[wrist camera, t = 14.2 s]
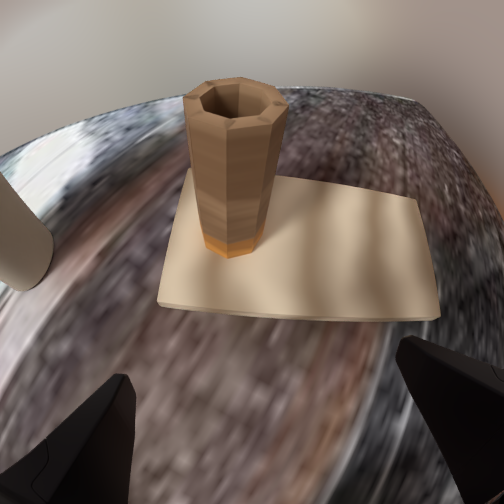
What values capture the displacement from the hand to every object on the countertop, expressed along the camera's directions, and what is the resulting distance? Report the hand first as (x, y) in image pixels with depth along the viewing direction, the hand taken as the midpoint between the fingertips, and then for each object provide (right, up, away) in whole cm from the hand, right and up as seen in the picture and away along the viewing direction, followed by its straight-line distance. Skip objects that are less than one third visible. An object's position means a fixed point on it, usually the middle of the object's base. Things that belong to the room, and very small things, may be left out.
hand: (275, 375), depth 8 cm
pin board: (+5, +4, +18) cm, 19 cm away
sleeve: (-2, +5, +16) cm, 17 cm away
